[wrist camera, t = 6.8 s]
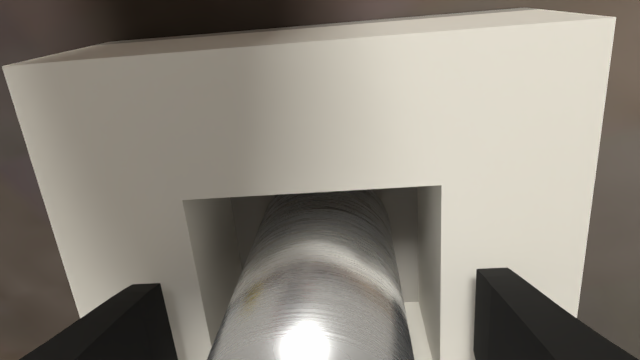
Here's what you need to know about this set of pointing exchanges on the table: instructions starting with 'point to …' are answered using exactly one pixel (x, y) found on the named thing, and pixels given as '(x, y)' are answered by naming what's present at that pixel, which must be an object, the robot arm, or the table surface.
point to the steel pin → (318, 284)
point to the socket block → (324, 155)
